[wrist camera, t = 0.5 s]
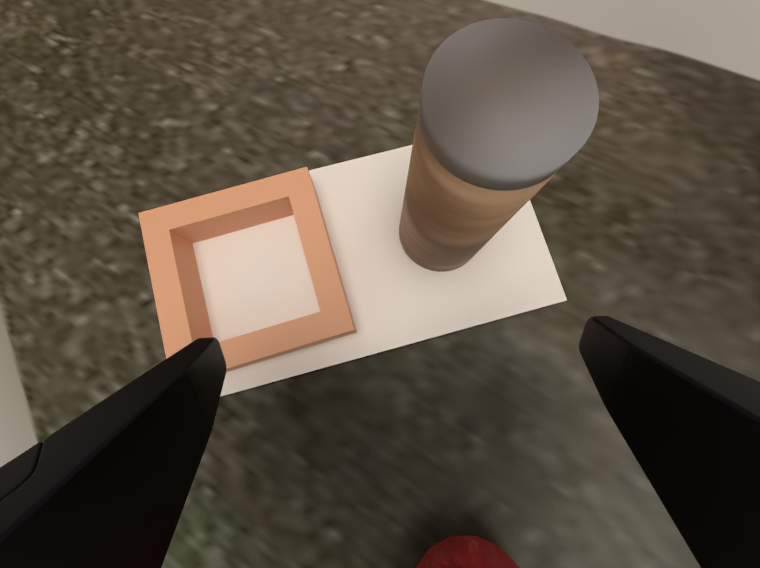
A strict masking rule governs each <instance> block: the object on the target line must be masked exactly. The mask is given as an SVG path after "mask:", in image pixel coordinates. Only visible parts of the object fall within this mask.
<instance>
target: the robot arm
mask: <svg viewBox="0 0 760 568" xmlns="http://www.w3.org/2000/svg"><path fill="white" fill-rule="evenodd" d="M579 350H580V353H581V355H582V358H583V360H584V362H585V364H586V366H587V368H588V371H589V373H590V375H591V377H592V379H593V381H594V384H595V386H596V388H597V390H598V392H599V394H600V397H601V399H602V401H603V403H604V405H605V407H606V409H607V410H608V412H609V414H610V416H611V417H612V419H613V421H614V422H615V424H616V426H617V427H618V429H619V431H620V433H621V434H622V436H623V438H624V439H625V441H626V443H627V444H628V446H629V448H630V449H631V451H632V453H633V454H634V456H635V458H636V459H637V461H638V463H639V464H640V466H641V468H642V469H643V471H644V473H645V474H646V476H647V478H648V479H649V481H650V483H651V485H652V486H653V488H654V490H655V491H656V493H657V495H658V496H659V498H660V500H661V501H662V503H663V505H664V506H665V508H666V510H667V511H668V513H669V515H670V516H671V518H672V520H673V521H674V523H675V525H676V526H677V528H678V530H679V532H680V533H681V535H682V537H683V538H684V540H685V542H686V543H687V545H688V547H689V548H690V550H691V552H692V553H693V555H694V557H695V558H696V560H697V562H698V563H699V565H700V567H701V568H760V382H759V381H756V380H754V379H752V378H749V377H747V376H745V375H743V374H740V373H738V372H736V371H733V370H731V369H729V368H726V367H724V366H722V365H719V364H717V363H715V362H712V361H710V360H708V359H706V358H703V357H701V356H699V355H696V354H694V353H692V352H689V351H687V350H685V349H682V348H680V347H678V346H675V345H673V344H671V343H669V342H666V341H664V340H662V339H659V338H657V337H655V336H652V335H650V334H648V333H645V332H643V331H641V330H638V329H636V328H634V327H632V326H629V325H627V324H625V323H622V322H620V321H618V320H615V319H613V318H611V317H608V316H593V317H589V318H588V319H587V320H586V322H585V326H584V329H583V332H582V336H581V339H580V343H579ZM225 375H226V361H225V358H224V355H223V352H222V349H221V346H220V343H219V341H218V339H217V338H215V337H207V338H198V339H196V340H195V341H193V342H192V343H190V344H188V345H187V346H185V347H184V348H182V349H181V350H179V351H178V352H176V353H175V354H173V355H172V356H170V357H169V358H167V359H166V360H164V361H163V362H161V363H159V364H158V365H156V366H155V367H153V368H152V369H150V370H149V371H147V372H146V373H144V374H143V375H141V376H140V377H138V378H137V379H135V380H134V381H132V382H131V383H129V384H127V385H126V386H124V387H123V388H121V389H120V390H118V391H117V392H115V393H114V394H112V395H111V396H109V397H108V398H106V399H105V400H103V401H102V402H100V403H99V404H97V405H95V406H94V407H92V408H91V409H89V410H88V411H86V412H85V413H83V414H82V415H80V416H79V417H77V418H76V419H74V420H73V421H71V422H70V423H68V424H66V425H65V426H63V427H62V428H60V429H59V430H57V431H56V432H54V433H53V434H51V435H50V436H48V437H47V438H45V439H44V441H43V442H39V443H37V444H36V445H34V446H33V447H31V448H30V449H28V450H27V451H25V452H24V453H22V454H21V455H19V456H18V457H16V458H15V459H13V460H11V461H10V462H8V463H7V464H5V465H4V466H2V467H0V568H161V566H162V564H163V561H164V558H165V556H166V553H167V550H168V548H169V545H170V542H171V539H172V537H173V534H174V531H175V529H176V526H177V523H178V521H179V518H180V515H181V512H182V510H183V507H184V504H185V502H186V499H187V496H188V494H189V491H190V488H191V485H192V483H193V480H194V477H195V475H196V472H197V469H198V467H199V464H200V461H201V458H202V456H203V453H204V450H205V448H206V445H207V442H208V439H209V436H210V434H211V431H212V427H213V424H214V420H215V416H216V412H217V408H218V404H219V400H220V396H221V391H222V387H223V383H224V379H225Z"/></svg>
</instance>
